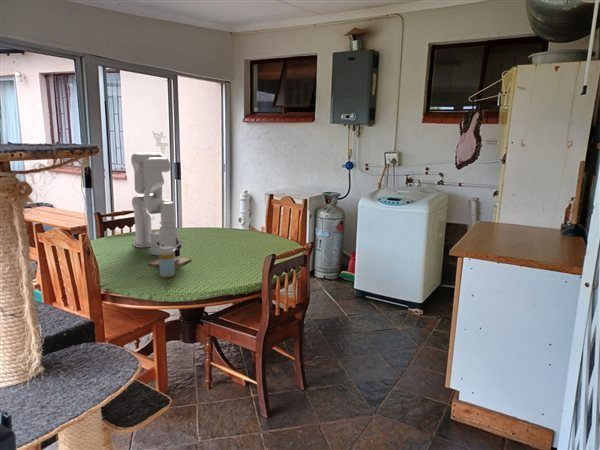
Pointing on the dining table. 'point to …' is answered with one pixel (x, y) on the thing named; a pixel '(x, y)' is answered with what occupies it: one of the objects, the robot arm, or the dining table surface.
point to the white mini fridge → (174, 255)
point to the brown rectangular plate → (176, 263)
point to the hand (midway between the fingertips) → (170, 255)
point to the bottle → (166, 262)
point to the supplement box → (154, 243)
